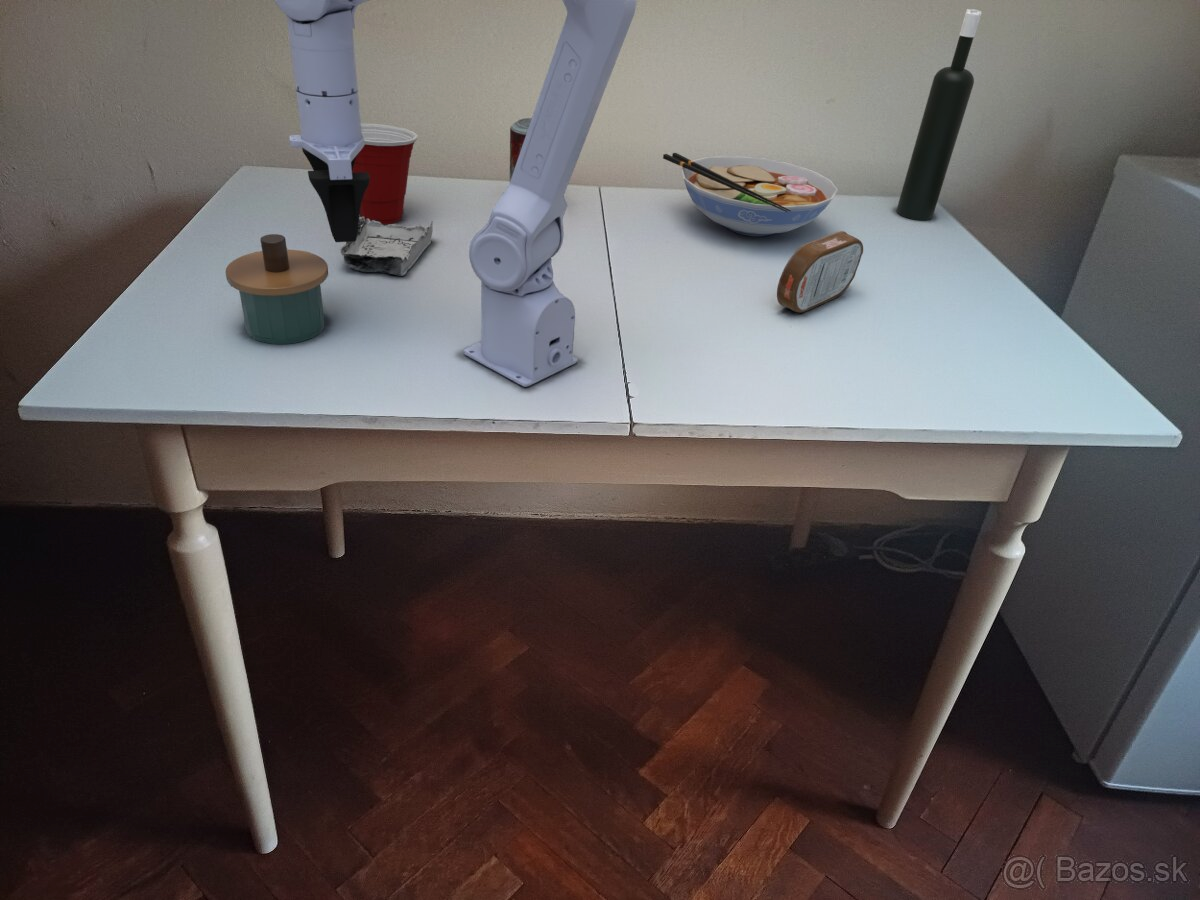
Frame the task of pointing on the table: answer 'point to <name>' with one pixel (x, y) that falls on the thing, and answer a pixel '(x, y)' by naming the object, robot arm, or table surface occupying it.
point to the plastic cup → (384, 170)
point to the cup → (283, 316)
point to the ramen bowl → (755, 192)
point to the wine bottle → (939, 129)
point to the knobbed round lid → (276, 269)
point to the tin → (819, 271)
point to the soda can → (517, 140)
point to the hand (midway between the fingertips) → (341, 226)
